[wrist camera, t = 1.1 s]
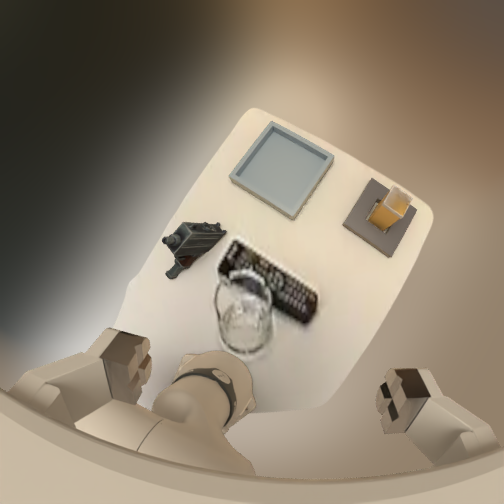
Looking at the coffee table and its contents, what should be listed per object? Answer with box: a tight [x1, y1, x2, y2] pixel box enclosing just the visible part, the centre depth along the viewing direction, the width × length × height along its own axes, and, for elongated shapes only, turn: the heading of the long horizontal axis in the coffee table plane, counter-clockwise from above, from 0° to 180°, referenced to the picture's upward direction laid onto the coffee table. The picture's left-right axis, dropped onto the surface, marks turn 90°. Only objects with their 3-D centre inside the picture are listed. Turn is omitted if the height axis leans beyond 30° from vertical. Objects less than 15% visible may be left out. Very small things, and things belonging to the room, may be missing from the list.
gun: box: [162, 222, 227, 279], centre depth 57 cm, size 3×17×15 cm
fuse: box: [368, 185, 413, 231], centre depth 53 cm, size 4×4×13 cm
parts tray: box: [229, 121, 334, 221], centre depth 62 cm, size 16×16×4 cm
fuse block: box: [343, 178, 417, 257], centre depth 58 cm, size 12×12×2 cm
